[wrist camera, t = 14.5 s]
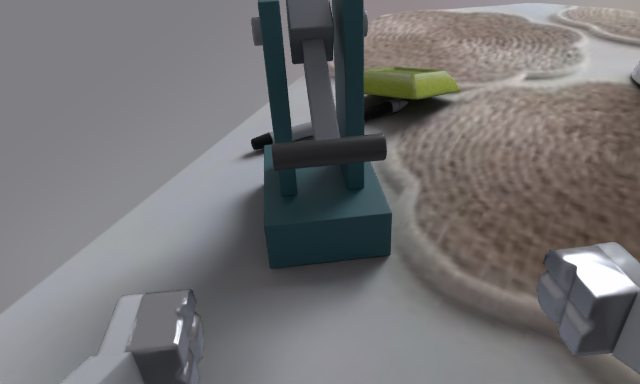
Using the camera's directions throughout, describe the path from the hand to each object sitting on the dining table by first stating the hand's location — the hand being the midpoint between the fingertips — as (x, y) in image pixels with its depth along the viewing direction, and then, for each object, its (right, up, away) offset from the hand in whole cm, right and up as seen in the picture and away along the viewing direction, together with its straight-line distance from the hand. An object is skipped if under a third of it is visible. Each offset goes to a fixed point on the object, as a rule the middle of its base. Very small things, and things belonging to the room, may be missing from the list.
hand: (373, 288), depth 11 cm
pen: (-7, +6, +31) cm, 33 cm away
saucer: (+7, +14, +34) cm, 38 cm away
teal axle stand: (-1, +1, +20) cm, 20 cm away
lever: (-1, +7, +13) cm, 15 cm away
